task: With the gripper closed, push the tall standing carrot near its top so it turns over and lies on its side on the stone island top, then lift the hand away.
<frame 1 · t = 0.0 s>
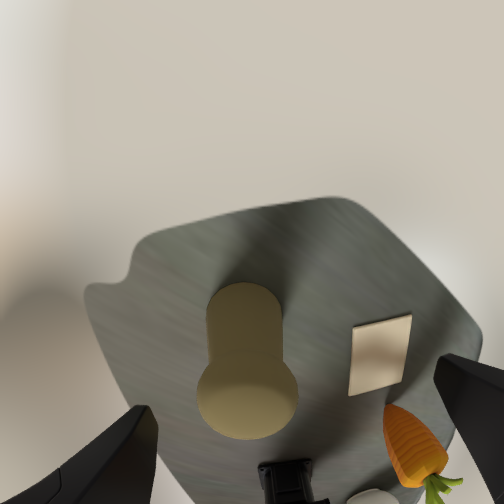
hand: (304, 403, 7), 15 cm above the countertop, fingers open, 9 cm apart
beige rectangular sheet: (379, 357, 24), on the countertop
cork: (244, 316, 23), on the countertop
carrot: (386, 403, 26), on the countertop
lidded jar: (363, 496, 33), on the countertop
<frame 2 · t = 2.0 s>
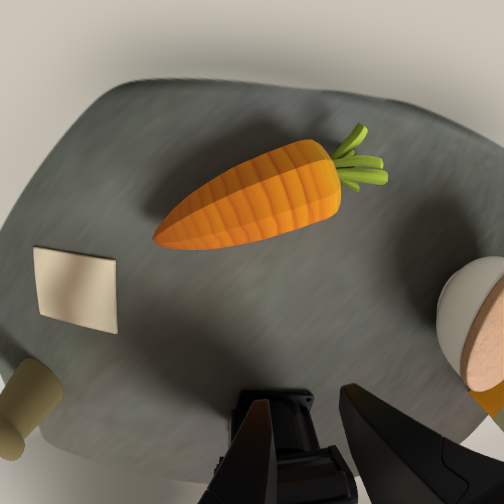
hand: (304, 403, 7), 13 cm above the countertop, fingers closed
beige rectangular sheet: (73, 289, 20), on the countertop
cork: (42, 380, 22), on the countertop
orange juice: (496, 370, 25), on the countertop
carrot: (150, 242, 17), point 2 cm above the countertop
lidded jar: (458, 298, 22), on the countertop
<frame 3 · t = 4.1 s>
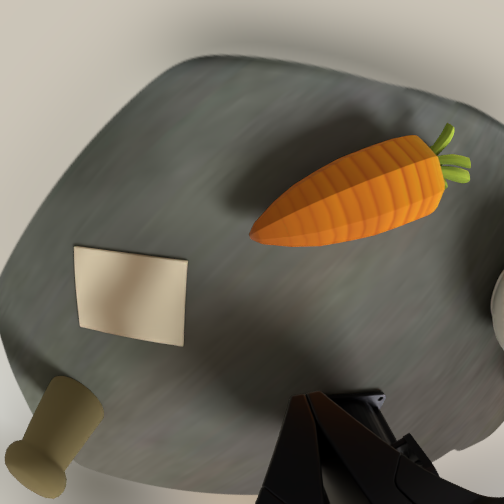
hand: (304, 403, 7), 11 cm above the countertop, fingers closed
beige rectangular sheet: (127, 296, 18), on the countertop
cork: (76, 400, 20), on the countertop
carrot: (246, 238, 15), point 2 cm above the countertop
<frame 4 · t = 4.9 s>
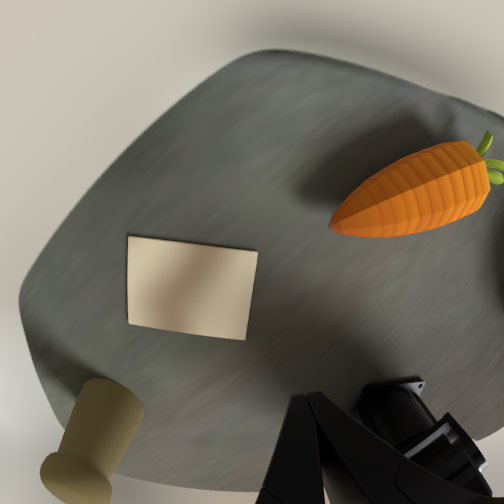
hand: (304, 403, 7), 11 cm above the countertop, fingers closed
beige rectangular sheet: (188, 289, 18), on the countertop
cork: (112, 402, 20), on the countertop
carrot: (326, 228, 15), point 2 cm above the countertop
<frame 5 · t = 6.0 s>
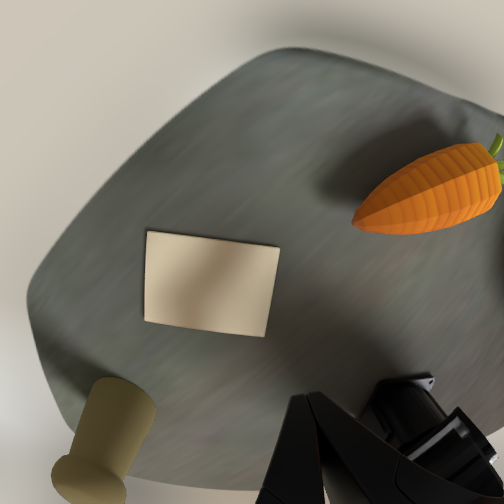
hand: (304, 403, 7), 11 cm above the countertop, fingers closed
beige rectangular sheet: (207, 286, 18), on the countertop
cork: (123, 402, 20), on the countertop
carrot: (349, 225, 15), point 2 cm above the countertop
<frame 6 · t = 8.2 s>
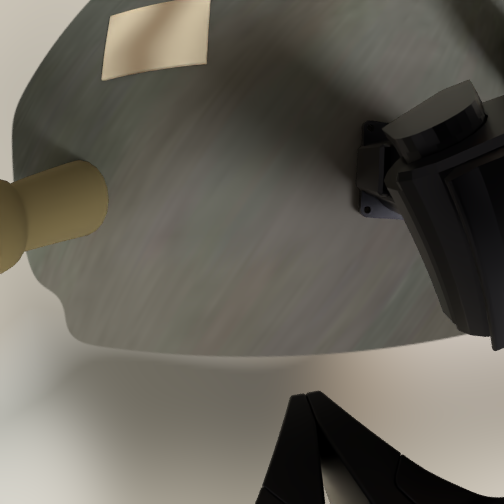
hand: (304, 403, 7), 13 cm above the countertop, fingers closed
beige rectangular sheet: (154, 36, 15), on the countertop
cork: (79, 198, 19), on the countertop
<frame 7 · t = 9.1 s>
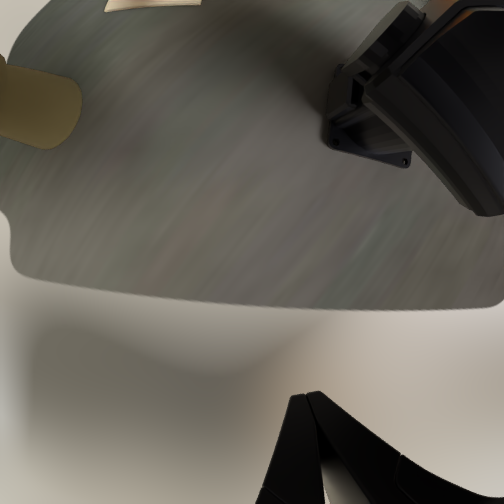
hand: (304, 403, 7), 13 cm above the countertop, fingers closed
cork: (53, 113, 16), on the countertop
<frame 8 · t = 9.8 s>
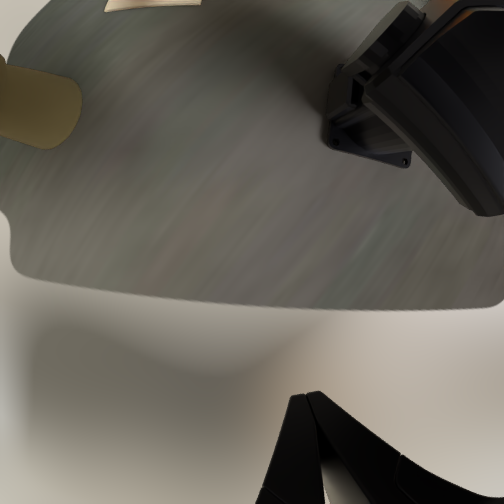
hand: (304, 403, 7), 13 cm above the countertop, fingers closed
cork: (53, 112, 16), on the countertop
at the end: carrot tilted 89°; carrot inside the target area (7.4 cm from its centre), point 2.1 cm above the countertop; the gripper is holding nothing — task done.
